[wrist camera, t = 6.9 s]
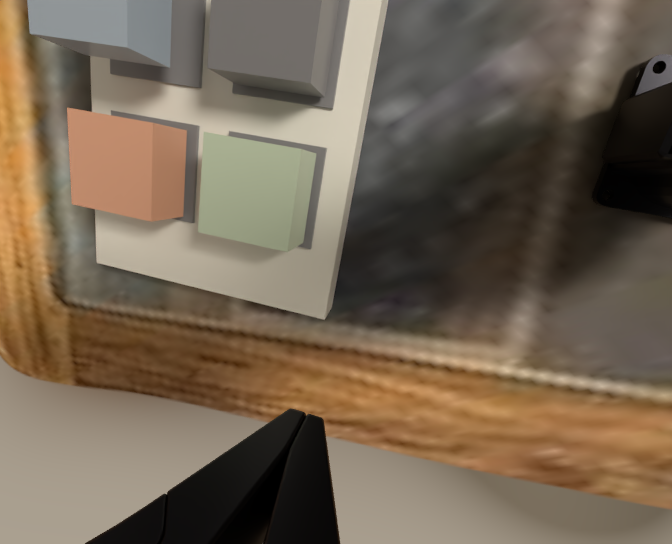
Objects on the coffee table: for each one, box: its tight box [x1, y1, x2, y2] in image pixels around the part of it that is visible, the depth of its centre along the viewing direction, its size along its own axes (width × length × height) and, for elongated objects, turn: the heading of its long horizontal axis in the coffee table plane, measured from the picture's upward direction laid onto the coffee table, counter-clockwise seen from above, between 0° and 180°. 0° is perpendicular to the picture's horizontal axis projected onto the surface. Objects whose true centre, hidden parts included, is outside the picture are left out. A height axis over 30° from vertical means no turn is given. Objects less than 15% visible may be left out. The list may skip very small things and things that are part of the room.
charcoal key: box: [207, 0, 339, 98], centre depth 14 cm, size 4×4×2 cm
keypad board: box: [90, 0, 389, 320], centre depth 18 cm, size 15×20×2 cm
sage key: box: [198, 132, 316, 252], centre depth 16 cm, size 4×4×2 cm
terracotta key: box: [67, 108, 187, 222], centre depth 17 cm, size 4×4×2 cm
